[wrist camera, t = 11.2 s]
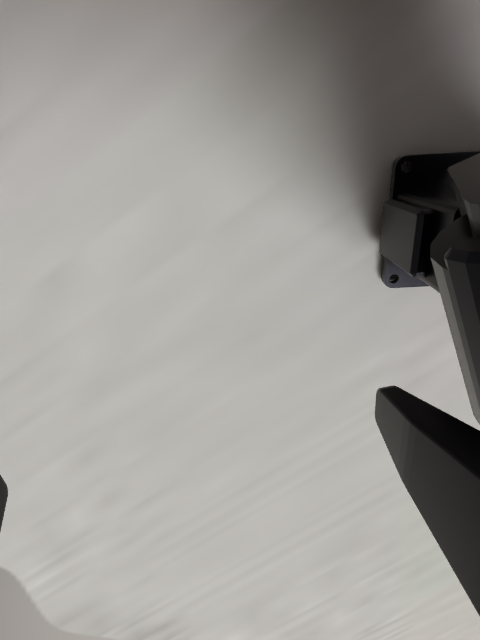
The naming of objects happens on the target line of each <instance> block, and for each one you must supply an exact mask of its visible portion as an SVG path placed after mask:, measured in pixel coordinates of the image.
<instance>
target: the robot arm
mask: <svg viewBox="0 0 480 640" xmlns="http://www.w3.org/2000/svg"><path fill="white" fill-rule="evenodd" d="M405 161H406V162H407V163H408V169H407V170H406V171H405V172H402V171H401V165H402V164H403V163H404V162H405ZM379 251H380V253H381V254H382V255H383V256H384V260H383V270H382V281H383V283H384V284H385V285H386V286H388V287H390V288H401V287H421V286H431V287H432V288H433V289H435V290H436V291H438V292H439V293H440V294H441V298H442V301H443V305H444V309H445V312H446V316H447V320H448V323H449V327H450V331H451V334H452V338H453V342H454V345H455V349H456V353H457V356H458V360H459V364H460V367H461V371H462V375H463V378H464V382H465V386H466V389H467V393H468V397H469V400H470V404H471V408H472V411H473V415H474V417H475V418H476V420H477V421H478V423H479V424H480V151H474V152H456V153H437V154H419V155H404V156H400V157H399V158H397V159H396V160H395V162H394V164H393V167H392V177H391V188H390V198H389V199H387V201H386V202H385V203H384V206H383V217H382V228H381V239H380V250H379ZM393 274H396V278H395V279H394V280H393V281H389V278H390V276H391V275H393ZM375 419H376V422H377V425H378V427H379V430H380V432H381V434H382V436H383V439H384V441H385V443H386V446H387V448H388V450H389V452H390V455H391V457H392V459H393V461H394V464H395V466H396V468H397V471H398V473H399V475H400V477H401V479H402V481H403V483H404V485H405V487H406V489H407V490H408V492H409V494H410V496H411V497H412V499H413V501H414V503H415V504H416V506H417V508H418V510H419V511H420V513H421V515H422V517H423V518H424V520H425V522H426V524H427V525H428V527H429V529H430V531H431V532H432V534H433V536H434V537H435V539H436V541H437V543H438V544H439V546H440V548H441V550H442V551H443V553H444V555H445V557H446V558H447V560H448V562H449V564H450V565H451V567H452V569H453V571H454V572H455V574H456V576H457V578H458V579H459V581H460V583H461V584H462V586H463V588H464V590H465V591H466V593H467V595H468V597H469V598H470V600H471V602H472V604H473V605H474V607H475V609H476V611H477V612H478V614H479V616H480V431H479V430H477V429H475V428H473V427H471V426H470V425H468V424H466V423H464V422H462V421H460V420H458V419H457V418H455V417H453V416H451V415H449V414H447V413H445V412H443V411H442V410H440V409H438V408H436V407H434V406H432V405H430V404H429V403H427V402H425V401H423V400H421V399H419V398H417V397H415V396H414V395H412V394H410V393H408V392H406V391H404V390H402V389H401V388H399V387H397V386H388V387H382V388H379V389H378V390H377V393H376V405H375ZM7 497H8V488H7V485H6V483H5V482H4V480H3V478H2V477H1V475H0V531H1V526H2V521H3V516H4V512H5V507H6V502H7Z"/></svg>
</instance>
